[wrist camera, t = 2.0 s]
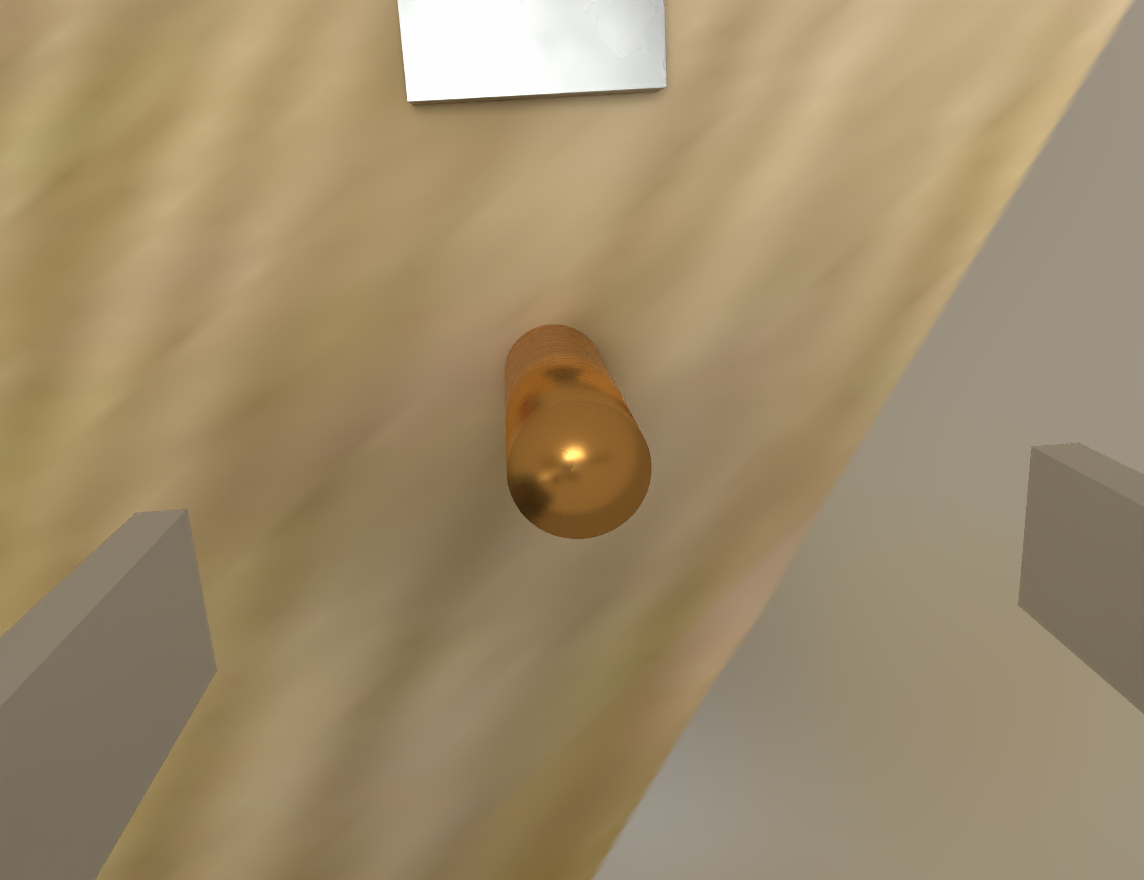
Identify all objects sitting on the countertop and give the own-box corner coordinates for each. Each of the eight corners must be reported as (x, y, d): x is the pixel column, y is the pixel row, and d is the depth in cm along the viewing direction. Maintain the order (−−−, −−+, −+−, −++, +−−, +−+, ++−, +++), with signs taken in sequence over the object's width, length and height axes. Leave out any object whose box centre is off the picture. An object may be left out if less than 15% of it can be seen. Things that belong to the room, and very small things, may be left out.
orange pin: (604, 416, 30) (653, 533, 20) (508, 423, 29) (512, 544, 20) (599, 321, 29) (648, 395, 19) (501, 328, 29) (501, 406, 19)
